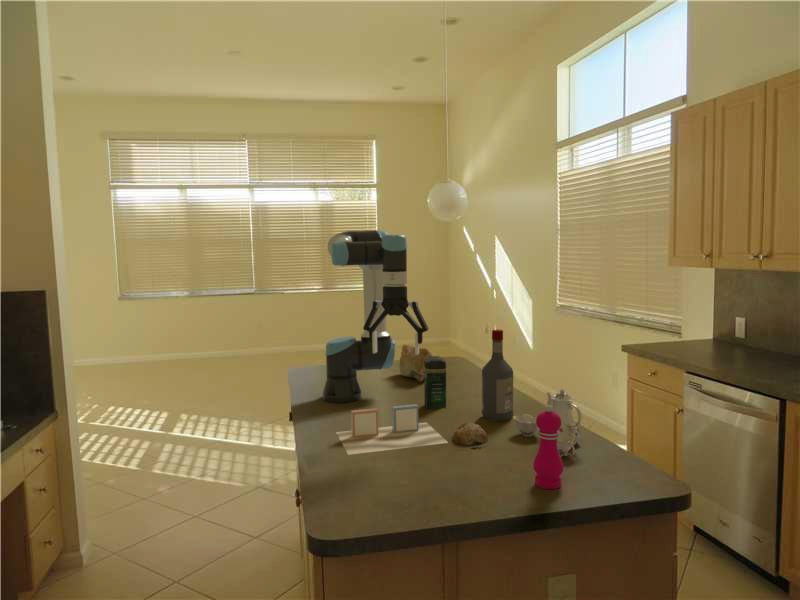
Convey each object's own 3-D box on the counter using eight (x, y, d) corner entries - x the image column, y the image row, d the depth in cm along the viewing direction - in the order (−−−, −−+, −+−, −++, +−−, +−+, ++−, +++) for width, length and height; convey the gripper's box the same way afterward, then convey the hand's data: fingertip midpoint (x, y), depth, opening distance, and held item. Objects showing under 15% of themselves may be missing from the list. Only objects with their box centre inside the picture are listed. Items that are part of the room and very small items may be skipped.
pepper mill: (529, 478, 145) (529, 401, 143) (557, 477, 146) (557, 400, 144) (538, 490, 138) (539, 410, 136) (567, 489, 138) (568, 408, 136)
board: (335, 436, 179) (335, 432, 179) (426, 425, 187) (426, 422, 187) (348, 458, 160) (348, 454, 160) (448, 446, 168) (448, 442, 168)
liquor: (516, 416, 196) (516, 330, 193) (501, 423, 189) (501, 333, 186) (493, 411, 202) (493, 327, 199) (478, 417, 195) (478, 330, 192)
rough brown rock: (450, 384, 245) (452, 349, 244) (414, 384, 239) (416, 349, 239) (429, 374, 267) (431, 342, 266) (396, 374, 261) (397, 342, 260)
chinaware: (504, 437, 180) (499, 386, 178) (547, 424, 187) (543, 375, 184) (562, 469, 155) (557, 410, 152) (609, 453, 161) (606, 396, 159)
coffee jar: (448, 410, 204) (447, 359, 202) (426, 411, 203) (425, 360, 201) (444, 403, 213) (444, 354, 212) (423, 403, 213) (422, 354, 211)
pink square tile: (351, 436, 175) (350, 410, 175) (376, 433, 178) (376, 408, 177) (353, 438, 173) (352, 412, 172) (378, 435, 175) (378, 410, 175)
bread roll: (461, 461, 166) (467, 441, 163) (444, 437, 174) (450, 417, 170) (489, 455, 171) (496, 435, 167) (471, 432, 179) (477, 412, 175)
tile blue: (392, 431, 179) (391, 406, 178) (416, 428, 181) (416, 404, 180) (394, 433, 177) (393, 408, 176) (418, 430, 179) (418, 406, 178)
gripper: (352, 286, 175) (354, 354, 177) (432, 286, 169) (433, 357, 171) (360, 284, 182) (361, 349, 184) (437, 284, 176) (437, 352, 178)
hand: (396, 353), depth 178 cm, fingers open, 13 cm apart
